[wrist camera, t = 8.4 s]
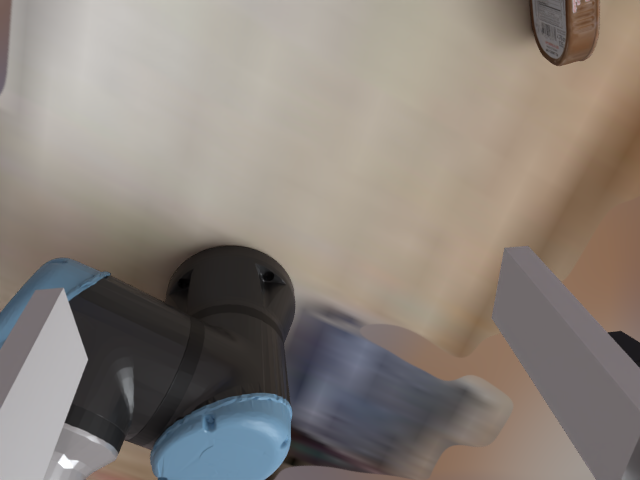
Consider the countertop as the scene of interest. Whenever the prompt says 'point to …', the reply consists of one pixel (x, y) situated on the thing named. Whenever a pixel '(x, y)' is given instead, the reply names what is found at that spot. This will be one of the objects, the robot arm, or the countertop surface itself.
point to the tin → (565, 29)
